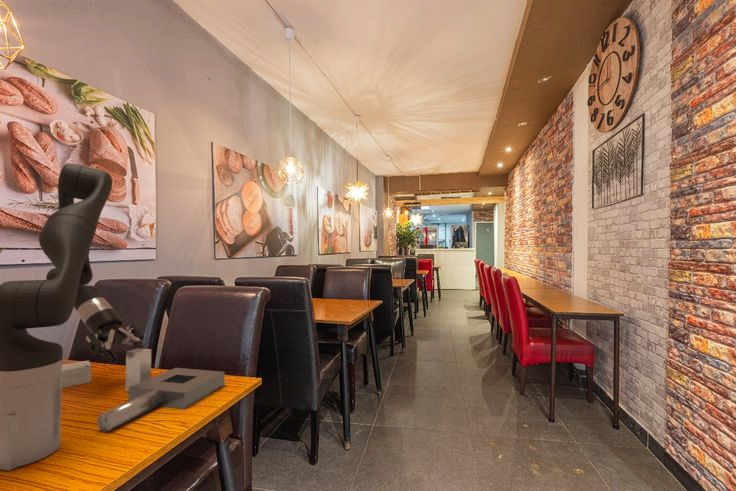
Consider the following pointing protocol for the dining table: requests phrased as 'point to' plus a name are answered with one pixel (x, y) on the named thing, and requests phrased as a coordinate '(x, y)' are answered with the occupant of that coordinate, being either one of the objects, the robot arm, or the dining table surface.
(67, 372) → the small box
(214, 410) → the dining table surface
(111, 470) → the dining table surface
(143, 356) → the upright grey pillar
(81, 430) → the dining table surface
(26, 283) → the robot arm
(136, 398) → the grey handled frame
